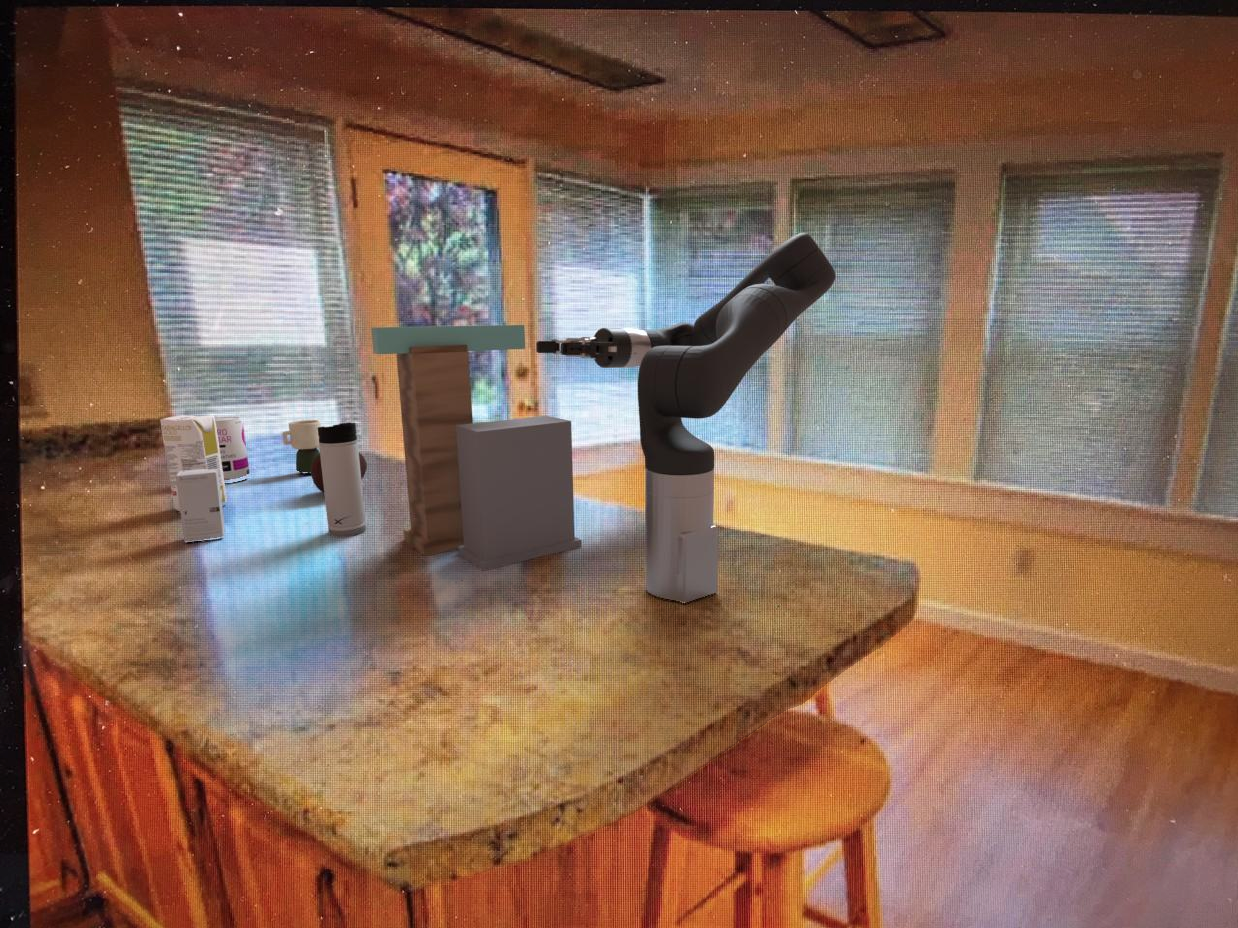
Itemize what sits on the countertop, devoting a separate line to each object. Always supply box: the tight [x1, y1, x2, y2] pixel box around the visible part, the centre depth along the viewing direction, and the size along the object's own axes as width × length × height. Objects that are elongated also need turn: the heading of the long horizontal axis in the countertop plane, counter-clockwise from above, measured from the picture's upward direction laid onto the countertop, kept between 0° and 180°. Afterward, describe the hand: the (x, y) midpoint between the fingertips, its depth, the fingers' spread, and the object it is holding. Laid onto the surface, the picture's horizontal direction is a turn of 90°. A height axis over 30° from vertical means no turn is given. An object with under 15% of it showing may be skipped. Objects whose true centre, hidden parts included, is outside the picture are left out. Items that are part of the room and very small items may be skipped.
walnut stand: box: [395, 345, 474, 557], centre depth 111 cm, size 10×11×33 cm
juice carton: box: [160, 414, 227, 510], centre depth 135 cm, size 8×9×19 cm
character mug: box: [282, 419, 322, 473], centre depth 167 cm, size 11×7×13 cm, turn 136°
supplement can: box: [215, 416, 251, 480], centre depth 160 cm, size 8×8×15 cm
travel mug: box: [318, 422, 367, 538], centre depth 119 cm, size 6×7×20 cm
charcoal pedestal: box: [456, 415, 582, 572], centre depth 108 cm, size 10×18×21 cm, turn 126°
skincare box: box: [176, 468, 226, 542], centre depth 117 cm, size 6×4×12 cm
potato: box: [310, 452, 368, 494], centre depth 147 cm, size 11×13×10 cm
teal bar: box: [370, 324, 526, 355], centre depth 109 cm, size 4×24×4 cm, turn 121°
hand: (548, 347), depth 120 cm, fingers open, 8 cm apart
